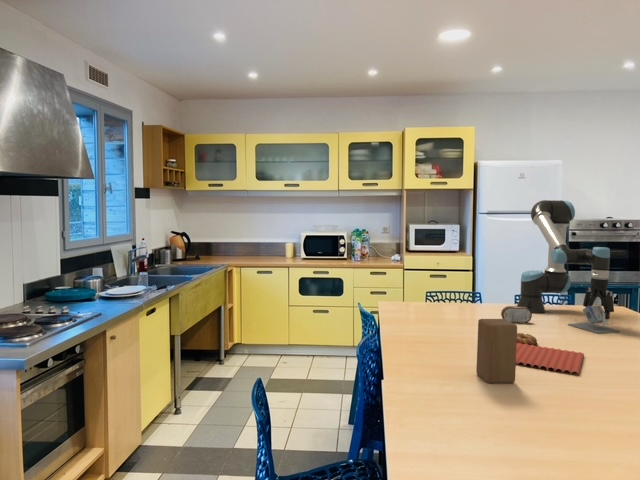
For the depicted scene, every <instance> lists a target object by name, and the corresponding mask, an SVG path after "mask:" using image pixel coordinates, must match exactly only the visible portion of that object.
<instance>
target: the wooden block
mask: <svg viewBox="0 0 640 480" xmlns="http://www.w3.org/2000/svg"><path fill="white" fill-rule="evenodd" d="M517 333H518V326H517V324H516V323H511V322H509V321H507V320H505V319H503V318H480V319H478V323H477V342H476V343H477V344H476V345H477V347H476V371H475V372H476V375H478V376H479V377H480V378H481V379H482V380H483V381H485V382H486V383H487V384H512V383H513V384H514V383H515V381H516V369H517V363H516V348H517Z"/></svg>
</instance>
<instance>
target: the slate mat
mask: <svg viewBox="0 0 640 480" xmlns="http://www.w3.org/2000/svg"><path fill="white" fill-rule="evenodd" d="M567 326H569V327H573V328H576V329H579V330H584V331H587V332H591V333H593V334H611V333H620V332H621V331H620V330H618V329H615V328H611V327H608V326H603V325H601V324H600V325H599V324H598V323H595V324H590V323H589V322H588V321H586V322H576V323H575V322H574V323H567Z"/></svg>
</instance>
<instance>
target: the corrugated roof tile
mask: <svg viewBox="0 0 640 480" xmlns="http://www.w3.org/2000/svg"><path fill="white" fill-rule="evenodd" d="M584 356H585V353H583V352H581V351H579V352H576V351H574V350H573V351H571V350H570V351H569V350H567V349H563V350H562V349H560V348H557V349H556V348H554V347H547V346H540V345H538V346H537V345H527V344H521V343H517V348H516V366H519V364H520V363H522V364H523V367H526V366H527V364H529V365H530V368H531V369H533V367H535V366H537V367H538V370H541V369H542V367H545V369H546V371H548V370H549V369H550V368H552V369H553V372H554V373H556V371H557V370H560V371H561V374H564V372H565V371H568V372H569V375H570V376H571V375H573V372H576V373H577V376H578V377H579V376H580V373H581V372H580V371H581V369H582V365H583V360H584Z"/></svg>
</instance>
